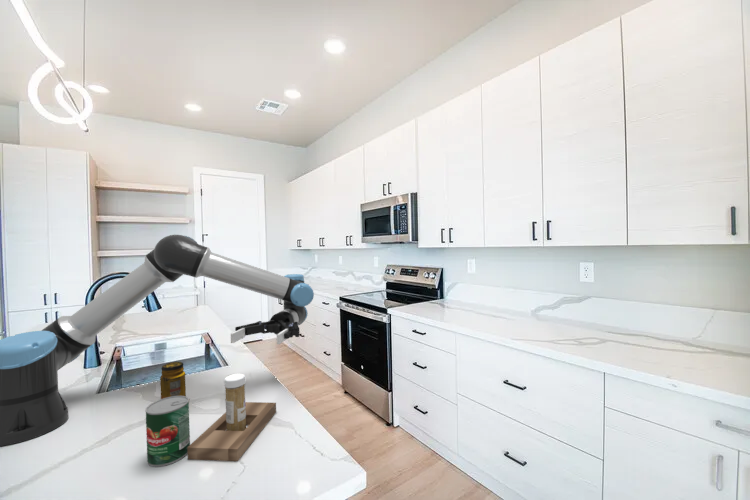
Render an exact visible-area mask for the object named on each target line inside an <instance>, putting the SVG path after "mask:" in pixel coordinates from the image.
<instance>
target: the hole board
mask: <svg viewBox="0 0 750 500" xmlns="http://www.w3.org/2000/svg"><path fill="white" fill-rule="evenodd" d="M245 407H246V429H245V430H244V431H227V422H226V411H225V412H224V413H223V414H222V415H221V416H220V417H219V418H218V419H216V421H214V422H213V423H212V424H211V425H210V426H209V427H208V428H207V429H206V430H204V431H203V433H201V434H200V435H199V436H198V437H196V439H195V440H193V442H192V443H190V446H188V447H187V452H188V454H187V460H197V461H198V460H199V461H220V462H221V461H223V462H224V461H225V462H226V461H227V462H239V460H240V459H241V458H242V456H243V455H244V454H245V452H246V451H247V450H248V449H249V447H250V446H251V445H252V444H253V442H255V440H256V439H257V437H258V436H259V435H260V434H261V432H262V431H263V429H264V428H265V427H266V426H267V425H268V423H269V422H270V421H271V420H272V418H273V416H274V415H275V414H276V413H277V402H262V401H261V402H259V401H258V402H257V401H255V402H254V401H253V402H252V401H245Z"/></svg>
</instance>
